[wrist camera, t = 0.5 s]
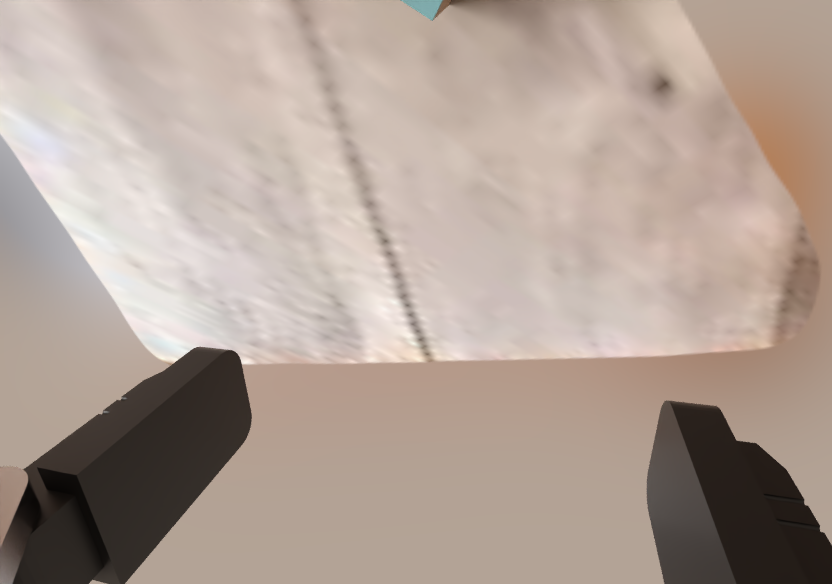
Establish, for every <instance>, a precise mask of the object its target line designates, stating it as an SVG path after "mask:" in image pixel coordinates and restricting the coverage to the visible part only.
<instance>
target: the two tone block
mask: <svg viewBox="0 0 832 584" xmlns="http://www.w3.org/2000/svg"><path fill="white" fill-rule="evenodd" d="M401 1H403V2H404V3H406V4H407V5H409V6H410V7H412V8H413V9H415V10H416V11H418V12H419V13H421V14H423V15H424V16H426V17H427V18H429V19H430V20H432V21H433V20H434V19H435V18H436V17H437V16H438V15H439V14H440V13H441V12H442V11H443V10H444V9H445V8H446V7H447V6H448V5H449V4H450V2H451V0H401Z"/></svg>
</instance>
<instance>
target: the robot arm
mask: <svg viewBox="0 0 832 584" xmlns="http://www.w3.org/2000/svg"><path fill="white" fill-rule="evenodd" d="M251 419H252V415H251V408H250V403H249V398H248V393H247V389H246V384H245V379H244V374H243V369H242V364H241V360H240V357H239V356H238V354H237V353H236V352H235V351H232V350H224V349H215V348H206V347H196V348H194V349H192V350H191V351H190V352H188V353H187V354H186V355H184V356H183V357H182V358H180V359H179V360H178V361H176V362H175V363H174V364H172V365H171V366H170V367H168V368H167V369H166V370H164V371H163V372H161V373H158V374H156V375H154V376H152V377H150V378H148V379H146V380H144V381H142V382H141V383H140V384H138V385H137V386H136V387H134V388H133V389H131V390H130V391H129V392H127V393H126V394H125V395H123V396H122V399H121V400H117V401H115V402H114V403H113V404H111V405H110V406H109V407H107V408H106V409H105V410H104V411H103V414H102V415H101V414H98V415H96V416H95V417H94V418H93V419H91V420H90V421H88V422H87V423H86V424H84V425H83V426H82V427H80V428H79V429H78V430H76V431H75V432H74V433H72V434H71V435H70V436H68V437H67V438H65V439H64V440H63V441H61V442H60V443H59V444H57V445H56V446H55V447H53V448H52V449H51V450H49V451H48V452H47V453H45V454H44V455H43V456H41V457H40V458H39V459H37V460H36V461H34V462H33V463H32V464H31V465H29V466H28V467H26V468H25V469H21V468H18V467H13V466H2V467H0V584H89V583H90V581H92V580H96V581H100V582H103V583H107V584H125V583H126V582H127V580H128V579H129V578H130V577H131V576H132V574H133V573H134V572H135V571H136V570H137V569H138V567H139V566H140V565H141V564H142V563H143V562H144V560H145V559H146V558H147V557H148V556H149V554H150V553H151V552H152V551H153V550H154V548H155V547H156V546H157V545H158V544H159V542H160V541H161V540H162V539H163V538H164V537H165V535H166V534H167V533H168V532H169V531H170V529H171V528H172V527H173V526H174V525H175V524H176V522H177V521H178V520H179V519H180V517H181V516H182V515H183V514H184V513H185V512H186V511H187V509H188V508H189V507H190V506H191V505H192V503H193V502H194V501H195V500H196V499H197V498H198V496H199V495H200V494H201V493H202V491H203V490H204V489H205V488H206V487H207V486H208V485H209V483H210V482H211V481H212V480H213V478H214V477H215V476H216V475H217V474H218V473H219V471H220V470H221V469H222V468H223V467H224V465H225V464H226V463H227V462H228V461H229V460H230V458H231V457H232V456H233V455H234V454H235V453H236V451H237V450H238V449H239V448H240V447H241V445H242V444H243V443H244V441H245V440H246V438H247V435H248V433H249V430H250V426H251ZM647 504H648V511H649V516H650V520H651V525H652V529H653V534H654V538H655V543H656V547H657V552H658V556H659V560H660V565H661V570H662V574H663V579H664V583H665V584H832V545H831V543H830V542H829V540H828V538H827V537H826V535H825V533H823V532H820V525H819V523H818V522H817V520H816V518H815V517H814V515H813V513H812V512H811V510H810V508H809V507H808V506H806V505H805V504H804V498H803V497H802V495H801V493H800V492H799V490H798V488H797V487H796V485H795V483H794V482H793V480H792V478H791V477H790V475H789V473H788V472H787V470H786V469H785V468H784V467H783V466H781V465H780V464H779V463H778V462H777V461H776V460H775V459H773V458H772V457H771V456H770V455H769V454H768V453H767V452H766V451H764V450H763V449H762V448H761V447H760V446H759V445H757V444H756V443H750V442H742V441H736V439H735V437H734V435H733V433H732V431H731V429H730V427H729V425H728V423H727V421H726V419H725V418H724V415H723V413H722V412H721V410H720V409H719V408H718V407H717V406H710V405H701V404H693V403H684V402H675V401H665V402H664V403H663V405H662V408H661V411H660V416H659V421H658V425H657V430H656V435H655V440H654V445H653V450H652V455H651V460H650V465H649V470H648V476H647Z"/></svg>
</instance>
